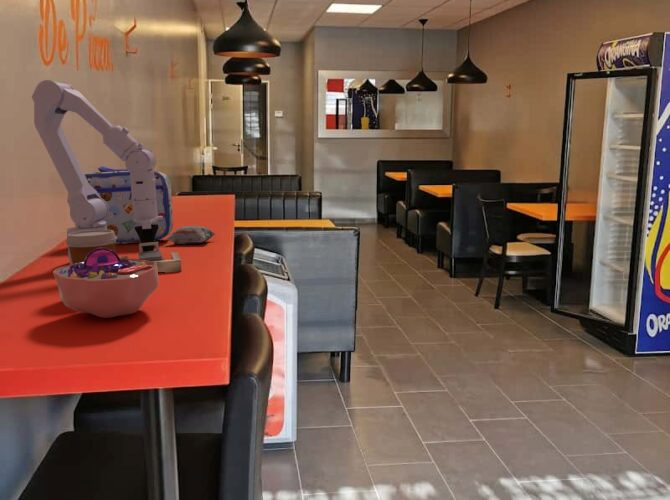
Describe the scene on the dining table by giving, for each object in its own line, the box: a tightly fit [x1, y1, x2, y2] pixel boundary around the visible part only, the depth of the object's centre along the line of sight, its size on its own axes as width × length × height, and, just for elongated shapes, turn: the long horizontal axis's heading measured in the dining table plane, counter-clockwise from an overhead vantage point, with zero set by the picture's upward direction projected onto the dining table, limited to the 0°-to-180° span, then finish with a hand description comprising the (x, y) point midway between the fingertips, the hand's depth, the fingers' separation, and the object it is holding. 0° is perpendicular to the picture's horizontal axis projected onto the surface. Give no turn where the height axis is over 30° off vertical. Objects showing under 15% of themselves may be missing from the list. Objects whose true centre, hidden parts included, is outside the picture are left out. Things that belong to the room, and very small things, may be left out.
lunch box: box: [84, 166, 174, 245], centre depth 203 cm, size 28×10×22 cm, turn 92°
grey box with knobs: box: [137, 241, 165, 261], centre depth 163 cm, size 6×9×5 cm
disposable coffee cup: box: [65, 230, 117, 264], centre depth 138 cm, size 10×10×12 cm
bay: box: [120, 251, 183, 273], centre depth 162 cm, size 13×12×2 cm
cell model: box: [52, 247, 160, 319], centre depth 121 cm, size 17×20×11 cm
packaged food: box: [164, 225, 216, 245], centre depth 198 cm, size 9×12×5 cm
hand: (148, 254), depth 174 cm, fingers closed
